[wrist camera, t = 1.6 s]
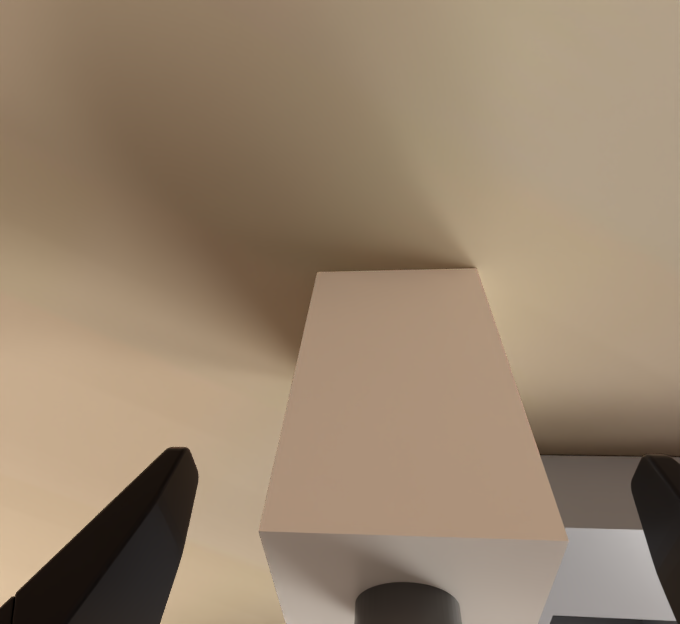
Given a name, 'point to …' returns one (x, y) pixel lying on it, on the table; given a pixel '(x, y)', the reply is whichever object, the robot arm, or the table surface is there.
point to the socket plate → (602, 546)
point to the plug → (408, 462)
